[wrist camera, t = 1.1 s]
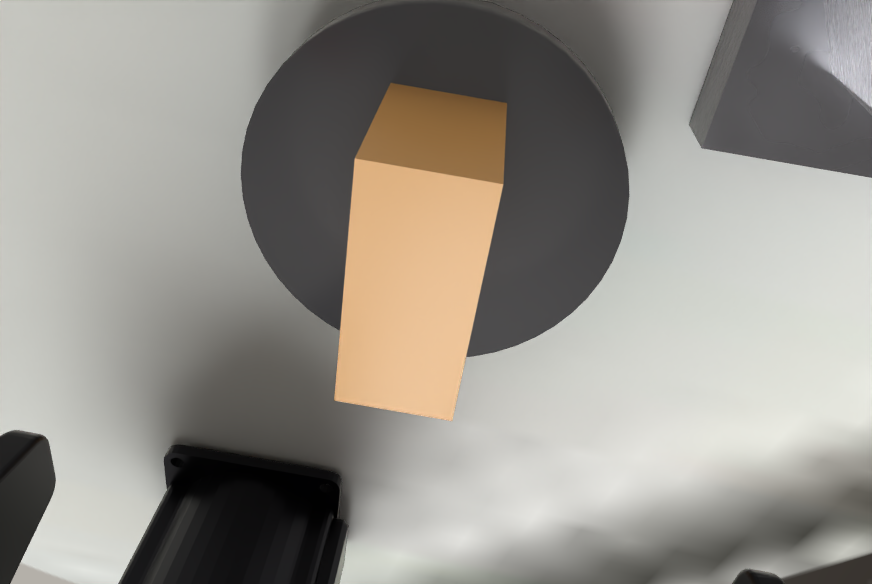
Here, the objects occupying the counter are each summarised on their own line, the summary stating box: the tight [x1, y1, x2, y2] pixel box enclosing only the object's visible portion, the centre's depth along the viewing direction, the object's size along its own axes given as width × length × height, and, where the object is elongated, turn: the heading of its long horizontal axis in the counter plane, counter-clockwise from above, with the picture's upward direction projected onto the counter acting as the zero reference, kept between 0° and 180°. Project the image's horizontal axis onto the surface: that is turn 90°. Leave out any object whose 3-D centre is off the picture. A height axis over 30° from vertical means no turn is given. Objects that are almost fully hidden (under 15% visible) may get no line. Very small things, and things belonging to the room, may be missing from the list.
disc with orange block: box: [241, 0, 629, 421], centre depth 16 cm, size 9×9×7 cm
